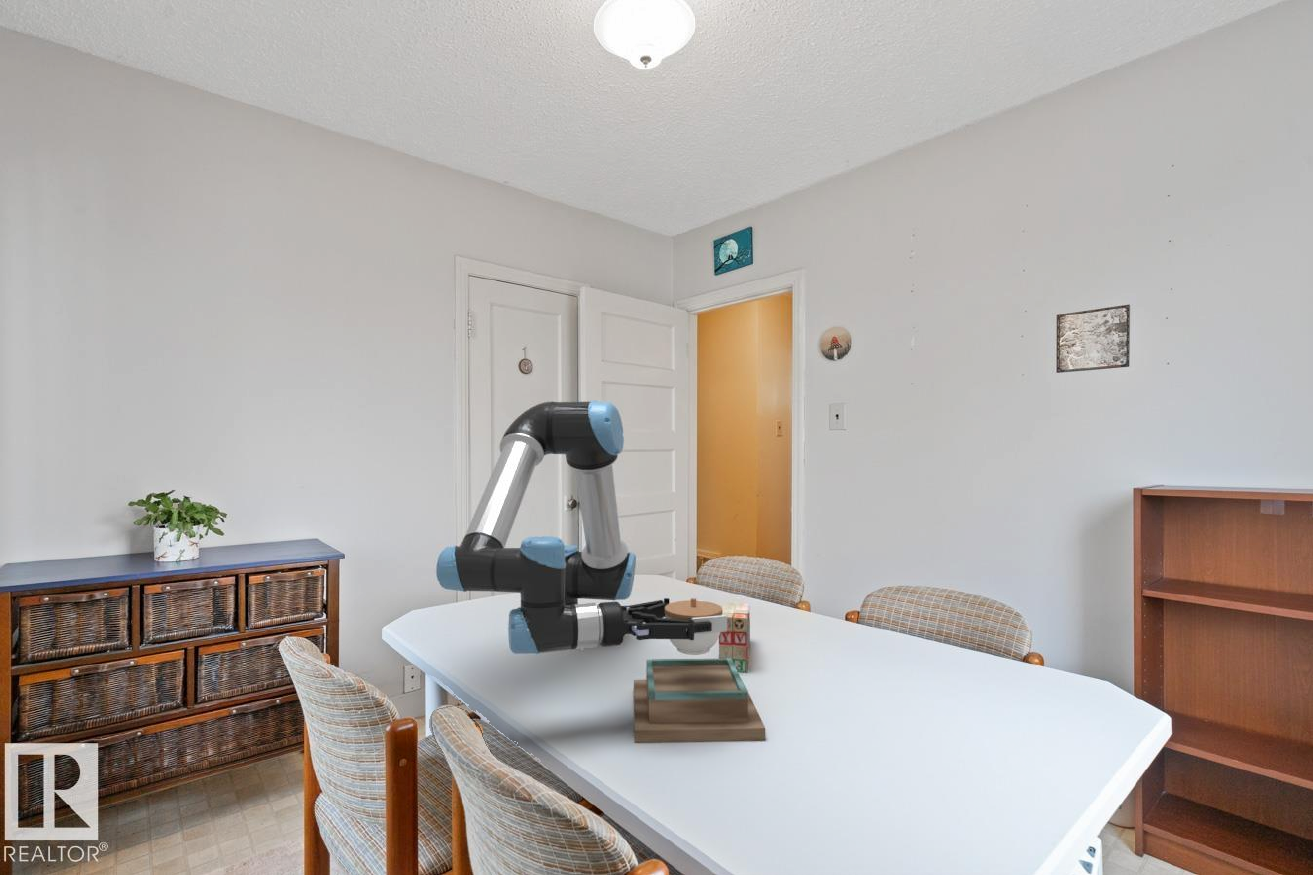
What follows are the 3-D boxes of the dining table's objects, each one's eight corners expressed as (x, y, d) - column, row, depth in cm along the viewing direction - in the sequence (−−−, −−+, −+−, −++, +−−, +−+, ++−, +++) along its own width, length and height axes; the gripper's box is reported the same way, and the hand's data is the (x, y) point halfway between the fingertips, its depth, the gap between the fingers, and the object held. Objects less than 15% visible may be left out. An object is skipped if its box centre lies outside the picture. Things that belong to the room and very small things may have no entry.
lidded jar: (708, 638, 121) (708, 590, 121) (732, 655, 110) (732, 603, 111) (656, 643, 117) (657, 593, 117) (676, 661, 107) (676, 607, 107)
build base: (633, 689, 124) (633, 655, 124) (741, 688, 125) (741, 653, 125) (634, 742, 102) (634, 700, 102) (765, 740, 103) (765, 698, 103)
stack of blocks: (725, 641, 156) (725, 592, 156) (750, 642, 155) (750, 593, 155) (718, 671, 135) (718, 615, 135) (747, 673, 134) (747, 617, 134)
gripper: (585, 627, 120) (691, 618, 126) (613, 668, 97) (740, 654, 104) (586, 589, 120) (691, 581, 126) (613, 620, 98) (740, 610, 104)
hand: (713, 614), depth 115 cm, fingers closed on lidded jar, 11 cm apart
